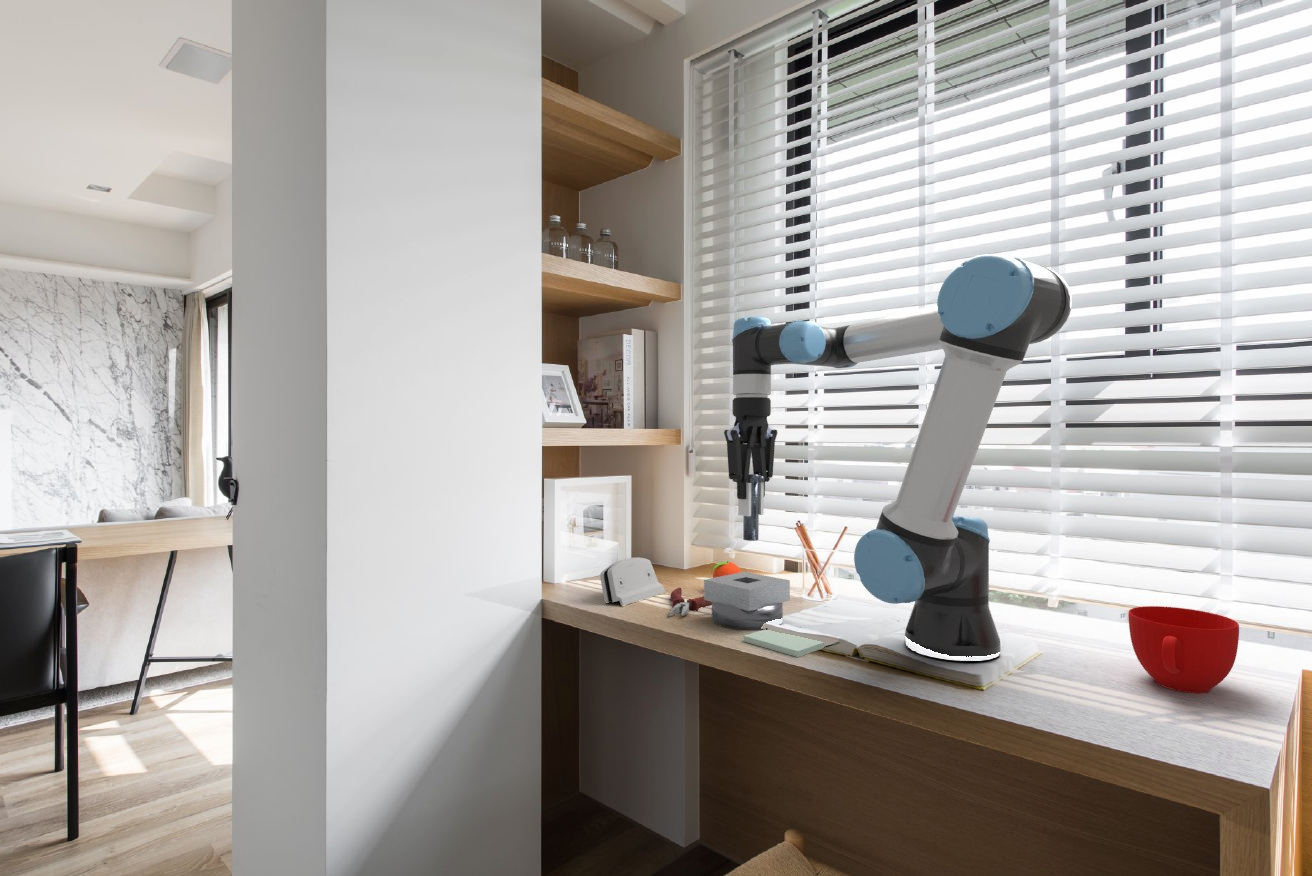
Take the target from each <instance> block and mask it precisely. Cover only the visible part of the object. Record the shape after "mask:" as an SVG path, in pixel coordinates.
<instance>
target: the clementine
mask: <svg viewBox="0 0 1312 876" xmlns="http://www.w3.org/2000/svg"><path fill="white" fill-rule="evenodd" d="M740 572H742V570H741V568H740V567H739V566H738V565H736V563H734V562H729V561H725V562H720V563H717V564H716V565H715V566H713V568H712V570H711V572H710V573H711V575H712V578H716V577H721V576H725V575H730V574H735V573H740Z"/></svg>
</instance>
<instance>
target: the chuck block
mask: <svg viewBox="0 0 1312 876" xmlns="http://www.w3.org/2000/svg"><path fill="white" fill-rule="evenodd" d="M790 581H791V580H790V579H789V580H788V579H785V578H779V577H774V576H769V575H763V574H758V573H753V572H748V571H741V572H740V573H735V574H730V575H725V576H721V577H716V578H713V577H711V578H706V579H703V587H704V589H703V593H704V594H703V596H704V600H707V601H711V602H712V605H711V622H712V623H713V622H714V624H715V625H716V626H719V627H721V628H726V629H732V630H741V631H761V630H760V629H761V627H762V626H763V624H764V623H766V622H768V621H772V620H775V619H781V618H783V616H784V615H783V613H784V612H783V609H784V608H783V606H784V605H783V603H786V602H790V601H791V594H790V593H791V584H790V583H791V582H790Z"/></svg>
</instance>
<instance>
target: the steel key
mask: <svg viewBox="0 0 1312 876" xmlns="http://www.w3.org/2000/svg"><path fill="white" fill-rule="evenodd" d="M759 474H760V473H759ZM759 474H753V473H749V479H748V482H747V483H751V516H743V517H742V518H743V520H742V521H743V522H742V523H743V525H742V526H743V530H742V531H743V535H742V536H743V538H742V539H743V540H744V541H750V542H751V541H752V542H754V541H756V542H757V541H759V534H760V533H759V529H760V528H759V526H760V525H759V522H760V520H759V519H760V518H759V516H760V515H759V483H762V482H764V477H763V476H759ZM742 476H743V475H742Z"/></svg>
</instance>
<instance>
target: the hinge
mask: <svg viewBox="0 0 1312 876" xmlns="http://www.w3.org/2000/svg"><path fill="white" fill-rule="evenodd" d="M601 571H602V572H600V574H599V578H600V584H601V588H602V594H603V599H604V603H605V602H607V603H609V602H612V603H614V602H616V603H617V602H619V603H620V606H621V605H624V604H629V603H631V602H636V601H639V600H641V599H645V600H647V599H646V598H648V599H650V598H649V597H651V598H654V597H656V595H657V596H659V595H658V594H660V595H662V594H665V593H666V590H665V586H664V585H663V584H662V583H660V582H659V579H658V577H657V575H656V571H655V570H654V567H653V564H652V562H651V560H650V559H648V558H645V557H628V558H624V559H620V560H617V561H615V562H613V563H612V564H610V565H609V566H607V567H606V568H605V569H603V570H601ZM653 596H654V597H653ZM639 602H640V601H639ZM636 603H637V602H636ZM609 604H610V603H609Z"/></svg>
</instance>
